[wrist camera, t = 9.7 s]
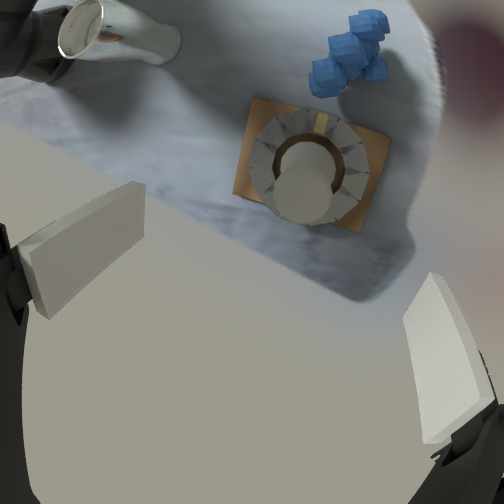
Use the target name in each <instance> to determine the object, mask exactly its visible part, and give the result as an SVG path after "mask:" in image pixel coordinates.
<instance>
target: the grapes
mask: <svg viewBox="0 0 504 504" xmlns="http://www.w3.org/2000/svg"><path fill="white" fill-rule="evenodd" d="M358 12H359V15H353V16H349V24H350V32H346V33H345V34H342V35H336V36H331V37H328V41H329V49H330V51H331V52H329V58H326V59H322V60H318V61H314V62H312V67H313V73H309V86H310V89H311V92H312V94H313V95H314V96H316V97H319V98H328V97H335V96H339V95H340V91H339V90H340V89H344V88H345V86H347V81H353V80H357V78H359V76H360V75H362V77H363V79H365V80H366V81H369V82H384V81H388V70H387V64H386V63H385V61H384V60H383V59H382V58H381V57H377V54H378V51H380V46H379V42H378V41H384V39H385V35H384V34H387V33H390V28H389V23H388V19H387V16H386V15H385V14H384V13H383V12H382V11H380V10H373V9H370V10H363V11H358Z"/></svg>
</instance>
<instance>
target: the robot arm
mask: <svg viewBox="0 0 504 504" xmlns="http://www.w3.org/2000/svg"><path fill="white" fill-rule="evenodd" d="M37 1H38V0H0V78H6V77H12V76H19V77H23V78H26V79H29V80H32V81H36V82H51V81H54V80H56V79H58V78H59V77H61V76H62V75H63V74H64V73H65V72H66V71H67V69H68V68H69V67H70V65H71V64H72V62H73V60H74V59H67V58H65V57H63V56H62V55H61V53H60V52H59V49H58V34H59V30H60V27H61V25H62V23H63V21H64V19H65V17H66V15H67V14H68V13H69V11H70V10H71V9H72V8H73V7H74V6H69V5H61V6H56V7H52V8H48V9H44V10H40V11H32V10H33V8H34V6H35V4H36V3H37ZM145 188H146V184H143V183H139V182H135V181H131V182H129V183H127V184H125V185H123V186H121V187H119V188H117V189H115V190H113V191H111V192H109V193H107V194H105V195H103V196H101V197H99V198H97V199H95V200H93V201H91V202H89V203H87V204H85V205H83V206H81V207H80V208H78V209H76V210H74V211H72V212H71V213H69V214H67V215H65V216H63V217H62V218H60V219H58V220H57V221H54V222H53V223H51V224H49V225H48V226H46V227H45V228H43V229H41V230H39V231H38V232H36V233H35V234H33V235H31V236H30V237H28V238H27V239H25V240H24V241H22V242H21V243H19V244H18V245H16V246H15V247H13V248H12V249H11V248H10V244H9V240H8V235H7V232H6V227H5V225H4V224H2V223H0V504H40V502H39V500H38V499H37V498H36V496H35V495H34V494H33V492H32V490H31V486H30V482H29V477H28V471H27V465H26V458H25V450H24V440H23V427H22V369H23V368H22V367H23V355H24V344H25V336H26V329H27V322H28V316H29V306H28V304H27V303H28V302H29V301H30V300H31V299H33V302H34V305H35V308H36V310H37V312H39V313H40V314H41V315H43V316H44V317H46V318H47V319H48V320H50V319H51V318H52V317H53V316H54V315H55V314H56V313H57V312H58V311H59V310H60V309H62V307H64V306H65V305H66V304H67V303H68V302H69V301H70V300H71V299H72V298H73V297H74V296H75V295H77V294H78V293H79V292H80V291H81V290H82V289H83V288H84V287H85V286H86V285H88V284H89V283H90V282H91V281H92V280H93V279H94V278H95V277H96V276H98V275H99V274H100V273H101V272H102V271H103V270H105V269H106V268H107V267H108V266H109V265H110V264H111V263H113V262H114V261H115V260H116V259H117V258H119V257H120V256H121V255H122V254H124V253H125V252H126V251H127V250H128V249H130V248H131V247H132V246H133V245H135V244H136V243H137V242H138V241H140V240H141V239H142V238H143V237H144V207H145ZM402 320H403V324H404V328H405V332H406V337H407V341H408V345H409V350H410V355H411V360H412V365H413V370H414V376H415V382H416V388H417V394H418V401H419V408H420V416H421V425H422V436H423V443H424V444H439V443H440V442H442V441H443V440H445V439H446V438H447V437H449V436H450V435H451V440H452V442H451V443H449V444H448V445H447V446H445V447H444V448H442V449H440V450H439V451H437V452H436V453H434V454H433V455H432V456H431V458H434V457H436V456H437V455H440V457H439V458H438V459H437V460H435V462H436V464H435V465H434V467H433V469H432V470H431V472H430V473H429V475H428V476H427V478H426V479H425V481H424V482H423V484H422V485H421V487H420V488H419V489H418V491H417V492H416V494H415V495H414V496H413V497H412V499H411V500H410V502H409V503H408V504H504V477H503V478H502V476H503V473H504V404H500V405H499V404H498V401H497V397H496V394H495V391H494V388H493V385H492V382H491V379H490V376H489V375H488V370H487V368H486V367H485V362H484V360H483V357H482V354H481V353H480V351H479V350H478V348H477V346H476V344H475V341H474V339H473V337H472V334H471V332H470V330H469V328H468V325H467V323H466V321H465V319H464V317H463V315H462V312H461V310H460V308H459V306H458V305H457V302H456V300H455V298H454V297H453V294H452V293H451V291H450V289H449V287H448V285H447V283H446V281H445V279H444V278H443V276H441V275H438V274H436V273H433V272H429V274H428V276H427V278H426V280H425V282H424V283H423V285H422V287H421V288H420V290H419V292H418V293H417V295H416V297H415V298H414V300H413V302H412V303H411V305H410V306H409V308H408V310H407V311H406V313H405V314H404V316H403V317H402Z"/></svg>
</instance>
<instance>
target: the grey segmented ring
mask: <svg viewBox="0 0 504 504" xmlns="http://www.w3.org/2000/svg"><path fill="white" fill-rule="evenodd" d="M338 117H339V116H335V115H332V114H329V113H326V112H322V111H319V110H315V109H312V108H309V112H308V109H307V108H303V109H299V110H295V111H291V112H288V113H284V114H280V115H278V117H274V118H273V119H272V120H271V121H270V122H269V123H268V124H267V125H266V126H265V127H264V128H263V129H262V131H261V132H260V133H259V134H258V135H257V136H256V138H257V139H255V140H254V142H253V146H252V151H251V155H250V160H249V165H248V166H249V167H251V168H249V169H248V170H249V173H250V176H251V179H252V182H253V185H254V189H255V192H256V195H259V194H261V195H260V196H259V197H258V198H259V199H260V200H261V201H262V202H263V203H264V204H265V205H266V206H267V207H268V208H269V209H270V210H271V211H273V212H274V213H275V214H276V215H277V216H279V215H280V214H281V213H280V212H279V211H278V210H277V208H276V205H275V202H274V198H273V192H274V184H275V181H276V180H277V179H278V177H279V174H278V170H277V167H276V160H277V156H278V152H279V148H280V146H281V145H282V144H283V143H284V142H286V141H287V140H288V139H289V138H290V137H291V136H294V135H298V134H302V133H307V132H310V133H313V134H317V135H320V136H323V137H327V138H328V139H329V140H330V141H331V142H332V143H333V144H334V145H335V146H336V147H337V148H338V149H339V150H340V151H341V155H342V159H343V163H344V169H343V172H342V176H341V179H340V182H339V184H338V185H336V186H335V187H334V188H333V189H332V193H333V195H332V199H331V204H330V207H329V209H328V210H327V211H326V213H325V214H324V215H323V216H322V218H321V219H318V220H316V221H314V222H311V223H309V226H313V225H319V224H324V223H329V222H335V221H336V220H335V217H336V218H337V219H338V220H339V219H340V218H341V217H343V216H344V215H345V214H346V213H348V212H349V211H350V210H351V209H352V208H353V207H355V206H356V205H357V204H358V203H359V202H358V200H361V198H362V195H363V192H364V190H365V187H366V184H367V181H368V178H369V175H370V174H369V173H368V172H369V171H370V170H369V165H368V160H367V156H366V151H365V147H364V143H363V142H361V141H362V140H361V138H360V137H359V136H358V135H357V134H356V133H355V132H354V131H353V130H352V129H351V128H350V127H349V126H348V125H347V123H346V122H345V121H344V120H343V119H342V118H340V119H339V120H338ZM280 218H282V219H285V220H288V219H286V218H285V217H284V216H283V215H282V214H281V217H280ZM288 221H290V220H288ZM291 222H293V221H291ZM298 224H301V225H304V226H306V225H307V223H298Z"/></svg>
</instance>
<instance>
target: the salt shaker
mask: <svg viewBox="0 0 504 504" xmlns="http://www.w3.org/2000/svg"><path fill="white" fill-rule="evenodd" d="M280 171H281V175H280V176H279V177H278V179H277V180H276V181H275V184H274V192H273V198H274V202H275V205H276V208H277V210H278V211H279V212H280V213H281V214H282V215H283V216H284V217H285V218H286V219H288V220H290V221H293V222H295V223H311V222H314V221H316V220H318V219H321V218H322V216H323V215H324V214H325V213H326V211H327V210H328V209H329V207H330V204H331V199H332V195H333V193H332V190H331V186H330V185H331V183H332V182H333V181H334V177H335V172H336V166H335V162H334V159H333V156H332V155H331V154H330V153H329V152H328V150H327V149H326V148H325V147H324V146H321V145H319V144H316V143H314V142H299V143H297V144H295V145H294V146H292V147H290V148H289V149H288V150H287V151H286V153H285V154H284V155H283V157H282V159H281V167H280Z"/></svg>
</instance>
